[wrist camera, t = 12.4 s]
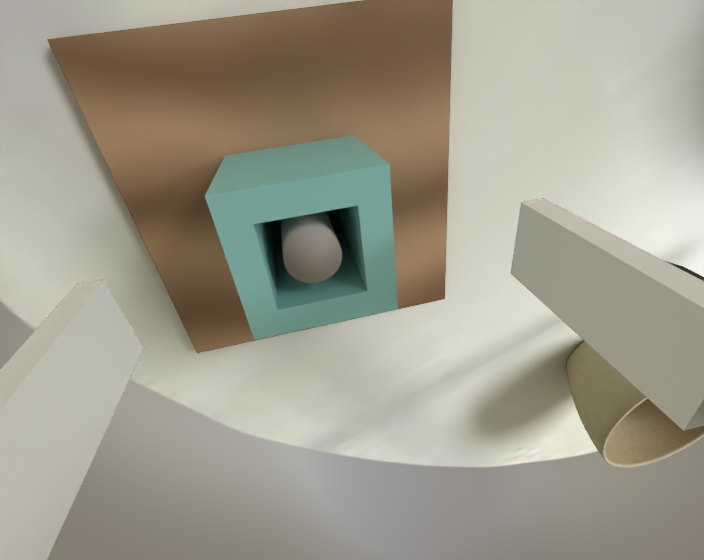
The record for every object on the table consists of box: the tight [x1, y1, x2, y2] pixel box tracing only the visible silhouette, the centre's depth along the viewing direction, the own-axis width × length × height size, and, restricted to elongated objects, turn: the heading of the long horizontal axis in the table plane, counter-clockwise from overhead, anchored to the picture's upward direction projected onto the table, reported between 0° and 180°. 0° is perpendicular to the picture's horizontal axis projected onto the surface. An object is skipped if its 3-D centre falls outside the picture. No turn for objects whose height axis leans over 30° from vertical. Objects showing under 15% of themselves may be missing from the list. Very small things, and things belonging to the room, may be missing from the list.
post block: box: [48, 0, 453, 353], centre depth 16 cm, size 16×16×7 cm
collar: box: [205, 135, 398, 340], centre depth 16 cm, size 6×6×6 cm
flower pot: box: [567, 341, 704, 468], centre depth 28 cm, size 10×10×7 cm
